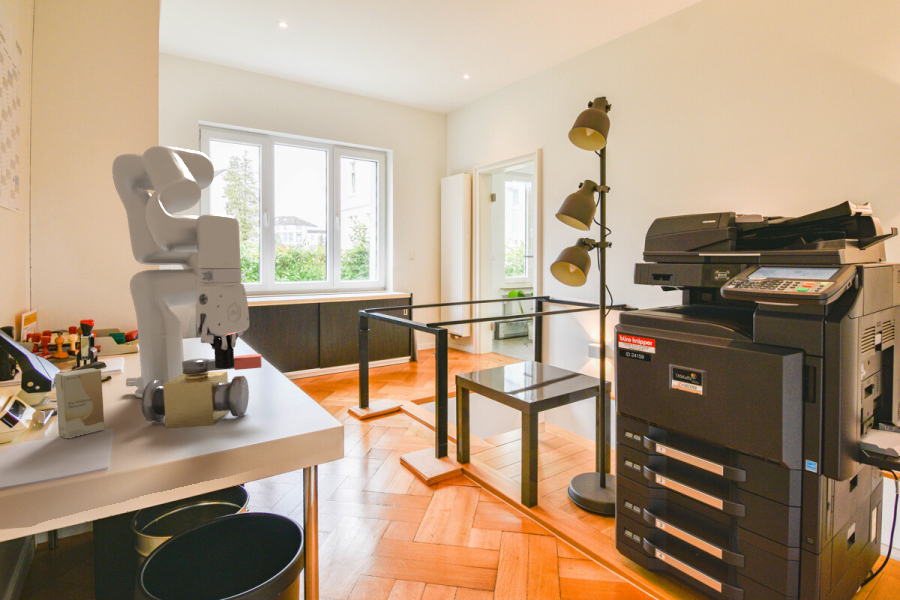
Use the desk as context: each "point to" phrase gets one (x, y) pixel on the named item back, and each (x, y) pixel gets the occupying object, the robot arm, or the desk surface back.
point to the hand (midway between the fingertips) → (224, 367)
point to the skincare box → (79, 402)
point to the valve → (195, 399)
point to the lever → (209, 365)
